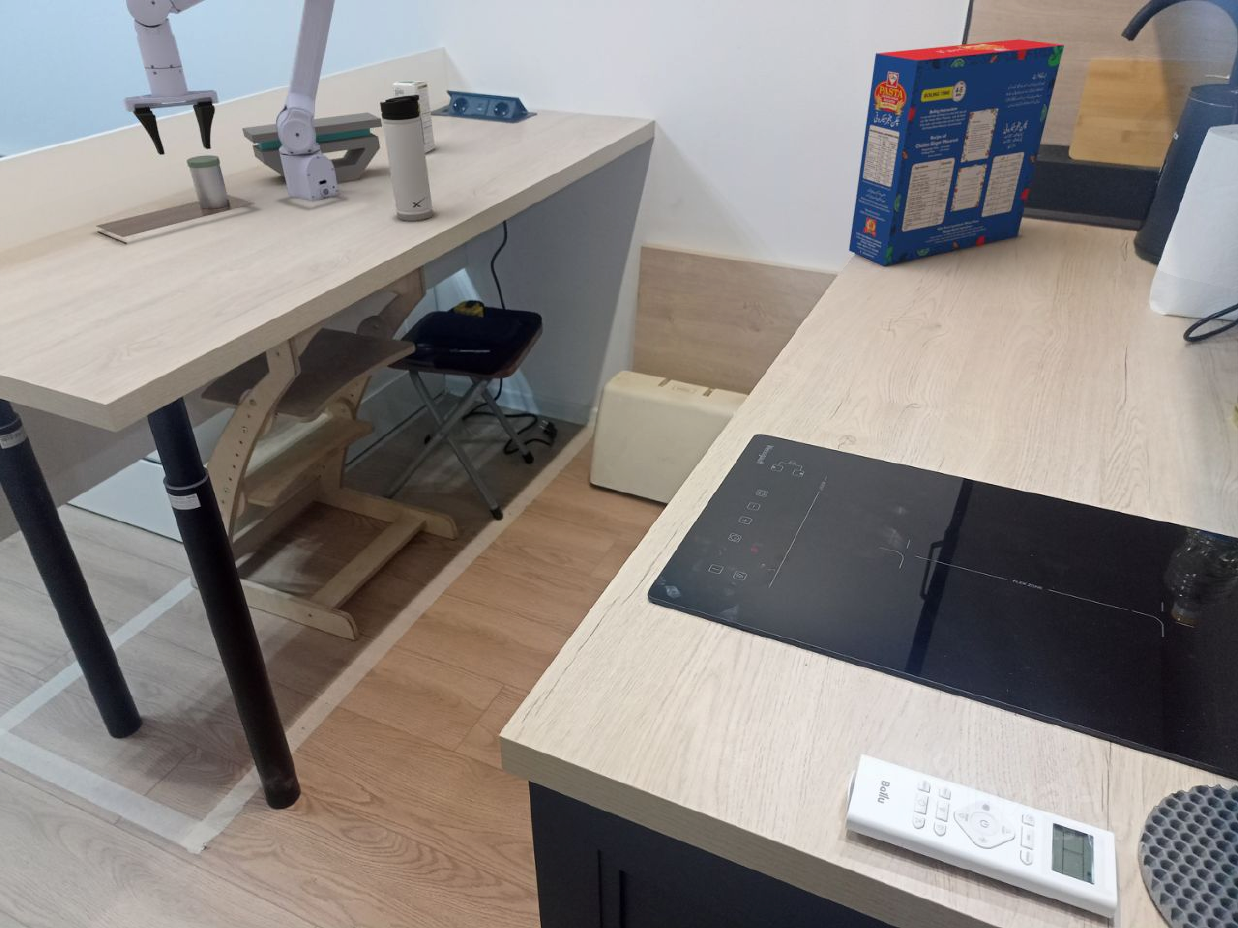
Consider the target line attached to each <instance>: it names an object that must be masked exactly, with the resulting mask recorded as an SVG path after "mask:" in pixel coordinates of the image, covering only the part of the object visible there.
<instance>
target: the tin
mask: <svg viewBox="0 0 1238 928" xmlns="http://www.w3.org/2000/svg"><path fill="white" fill-rule="evenodd" d="M186 165H187V167H188V168H189V171H190V175H191V178H192V183H193V186H194V189H195V193H196V196H197V201H199V204H200V207H201V208H204V209H215V208H221V207H225V206H227V205H229V204H230V202H229V199H228V195H229V194H228V191H227V187H226V184H225V180H224V176H223V172H222V167H221V161H220V157H219V156H218V155H213V154H212V155H211V154H207V155H197V156H193V157H190V158H188V159H186Z"/></svg>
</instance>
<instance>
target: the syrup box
mask: <svg viewBox="0 0 1238 928" xmlns="http://www.w3.org/2000/svg"><path fill="white" fill-rule="evenodd" d="M428 89H429V87H428V82H427V81H426V80H423V81H422V80H421V81H420V80H398V81H396V82H394V83H392V91H393V92H392V93H393V98H396V97H402V96H411V95H419V100H418V107H419V110H418V111H419V114H420V121H421V127H422V134H423V142H424V149H425V154H426V153H429V152H430V151H431V152H432V150H434V149H436V145H435V138H434V130H433V120H432V113H431V112H432V111H431V106H430V105H431V104H430V96H429V90H428Z"/></svg>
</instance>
